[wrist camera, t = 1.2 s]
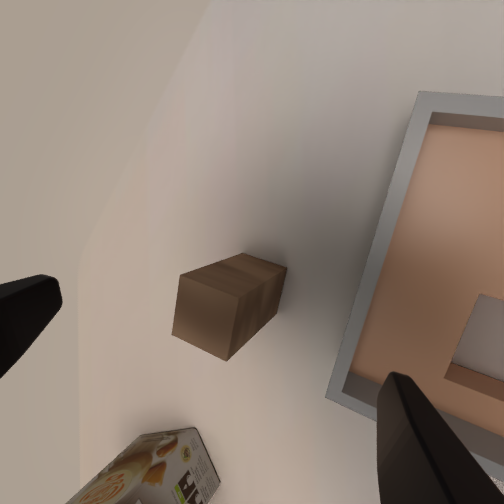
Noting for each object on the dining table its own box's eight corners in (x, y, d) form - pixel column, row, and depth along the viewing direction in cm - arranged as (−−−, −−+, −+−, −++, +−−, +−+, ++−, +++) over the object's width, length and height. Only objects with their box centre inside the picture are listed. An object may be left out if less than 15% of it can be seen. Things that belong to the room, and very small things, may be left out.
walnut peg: (276, 313, 24) (226, 361, 17) (233, 297, 26) (171, 334, 19) (287, 267, 23) (238, 297, 16) (242, 253, 25) (179, 274, 18)
